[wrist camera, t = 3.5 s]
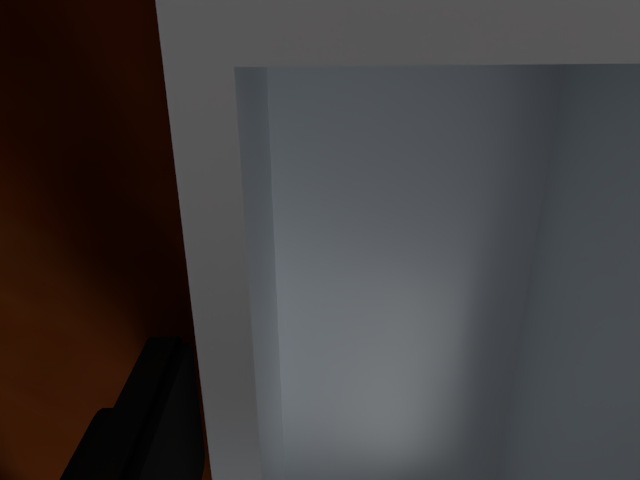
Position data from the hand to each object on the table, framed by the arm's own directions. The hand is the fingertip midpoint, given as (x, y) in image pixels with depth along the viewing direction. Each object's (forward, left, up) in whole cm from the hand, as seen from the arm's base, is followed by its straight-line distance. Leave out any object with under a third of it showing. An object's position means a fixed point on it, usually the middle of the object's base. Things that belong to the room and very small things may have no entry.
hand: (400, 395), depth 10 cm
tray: (0, 0, -1) cm, 1 cm away
